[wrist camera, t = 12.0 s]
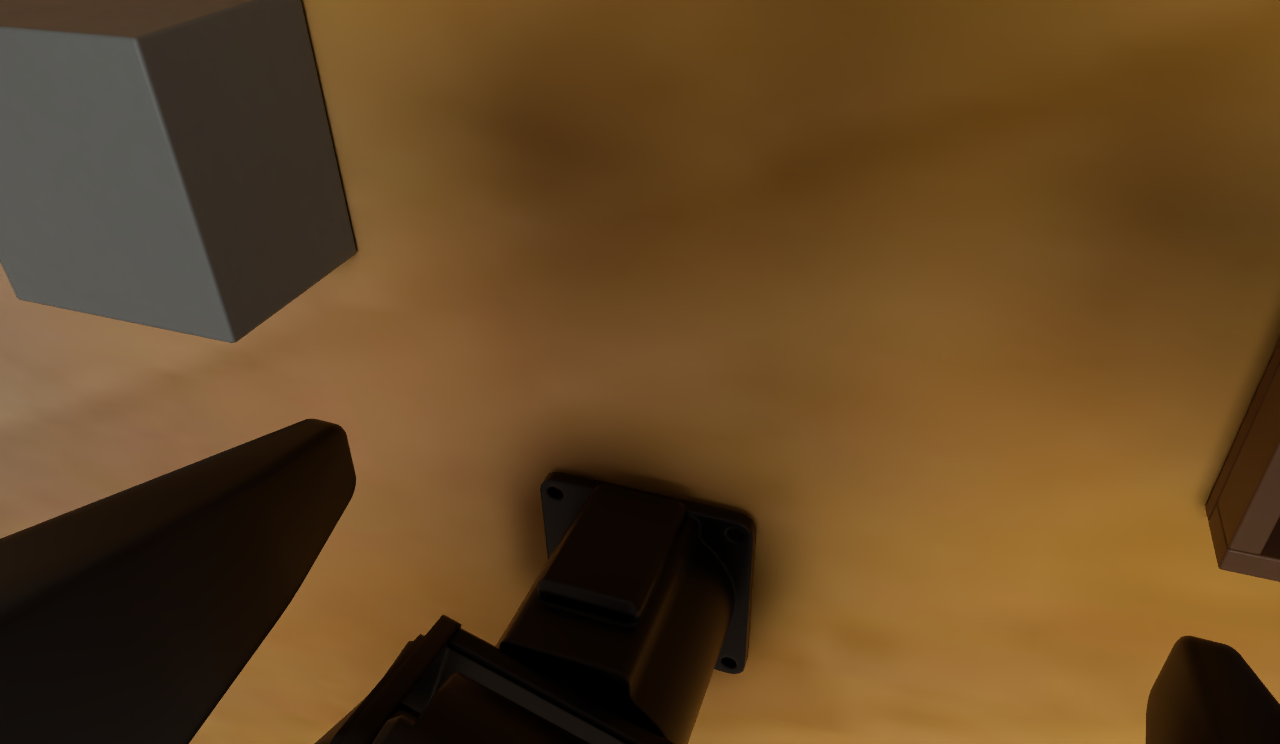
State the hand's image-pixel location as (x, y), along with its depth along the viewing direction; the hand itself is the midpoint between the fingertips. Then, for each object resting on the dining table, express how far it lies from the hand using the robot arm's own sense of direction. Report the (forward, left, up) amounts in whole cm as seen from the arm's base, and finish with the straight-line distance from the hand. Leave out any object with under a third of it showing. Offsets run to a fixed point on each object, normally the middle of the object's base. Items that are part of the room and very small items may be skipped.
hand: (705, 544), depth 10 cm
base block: (-1, +17, -12) cm, 21 cm away
